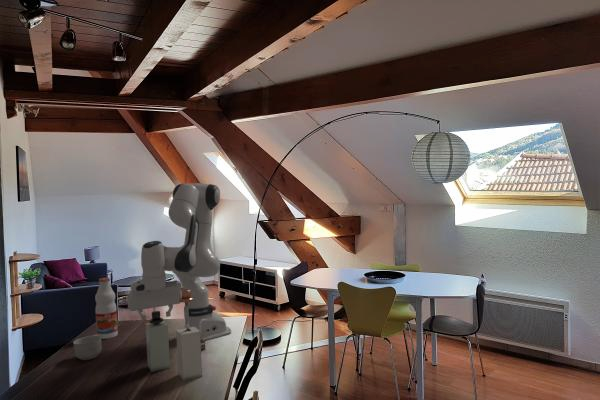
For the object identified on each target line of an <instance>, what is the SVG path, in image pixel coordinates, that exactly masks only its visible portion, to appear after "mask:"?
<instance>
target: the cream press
mask: <svg viewBox="0 0 600 400" xmlns="http://www.w3.org/2000/svg"><path fill="white" fill-rule="evenodd" d="M189 329H190V331H188V332H186V328H185V327H184V328H180V329H176V330H175V333H176V334H175V336H176V352H177V355H176V356H177V372H178V374H177V375H178V376H179V378H180V379H181V381H183V382H186V381H189V380H193V379H194V380H195V379H200V378H202V377H203V367H202V364H203V363H202V349H201V342H200V331H199V330H198V329H197V328H195V327H190V328H189Z"/></svg>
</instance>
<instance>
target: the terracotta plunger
mask: <svg viewBox="0 0 600 400" xmlns="http://www.w3.org/2000/svg"><path fill="white" fill-rule="evenodd" d="M180 292H181V297H182V298H180V299H179V302H181V303H184V307H185V316H186V332H188V331H190V329H189V309H188V302H191V301H193V300H194V298H193V297H191V294H190V290H183V289H181V290H180Z"/></svg>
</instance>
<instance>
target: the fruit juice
mask: <svg viewBox="0 0 600 400" xmlns="http://www.w3.org/2000/svg"><path fill="white" fill-rule="evenodd" d="M110 280H111V278H110V277H102V278H99V279H98V283H99V286H98V289H97V292H96V294H95V296H94V297H95V299H94V300H95V303H96V305H95V311H94V312H95V323H96V324H95V325H96V327H95V328H96V335H97V336H100V337H101V340H108V339H113V338H114V337H117V336H118V334H119V331H118V329H119V328H118V316H117V315H118V314H117V309H118V308H117V304H116V301H115V300H116V293H115V292H114V290H113V288H112V286H111V283H110Z"/></svg>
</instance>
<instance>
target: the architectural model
mask: <svg viewBox="0 0 600 400" xmlns="http://www.w3.org/2000/svg"><path fill="white" fill-rule="evenodd" d="M200 342H201V350H206V345H207V343H206V340H205V339H203V333H200Z"/></svg>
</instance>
